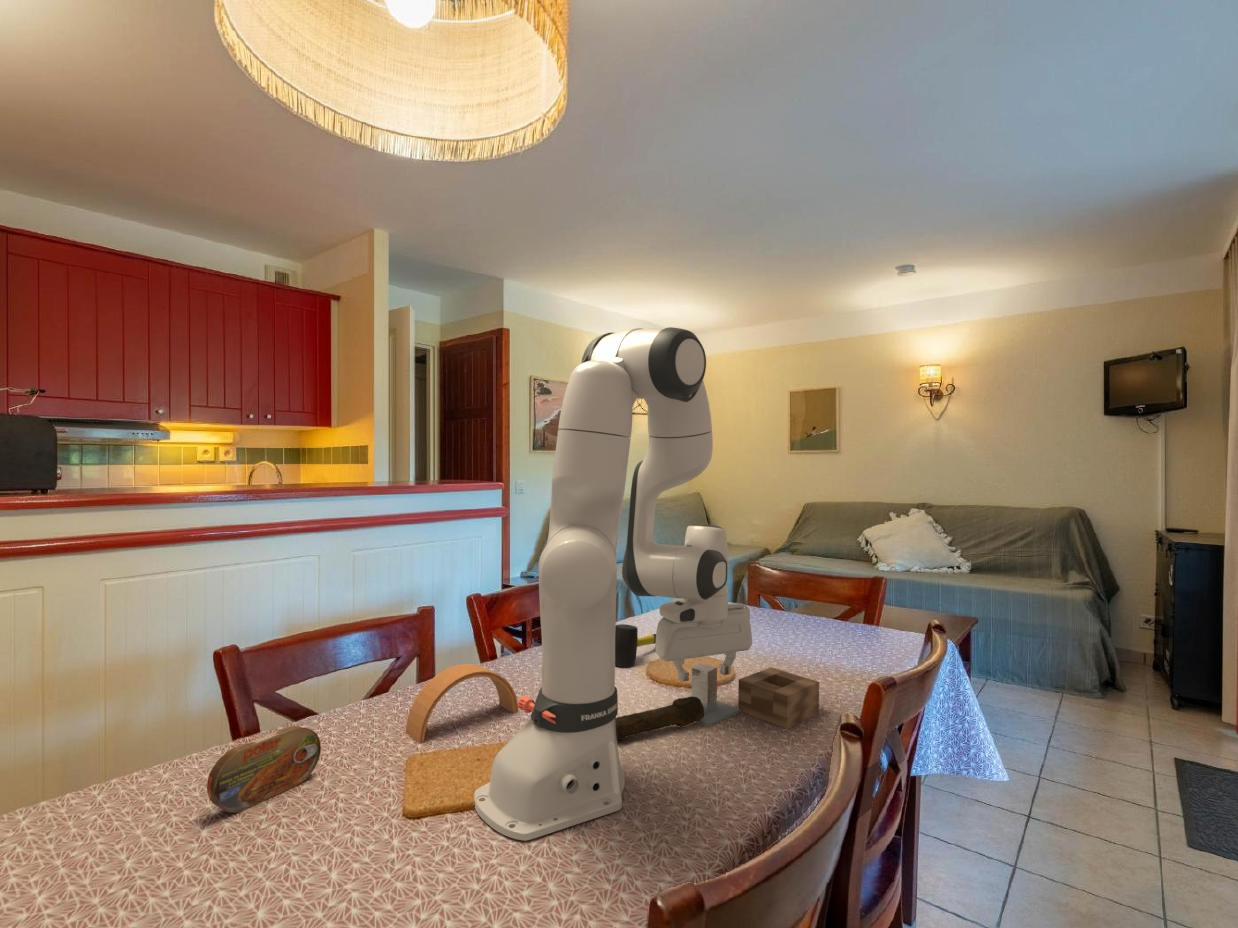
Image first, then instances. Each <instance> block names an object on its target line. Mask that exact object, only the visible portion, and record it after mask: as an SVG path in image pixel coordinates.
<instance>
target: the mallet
mask: <svg viewBox="0 0 1238 928" xmlns="http://www.w3.org/2000/svg"><path fill="white" fill-rule="evenodd" d="M638 630H639V629H638V627H637V626H635V625H633V624H632V625H631V624H623V623H622V624H616V630H615V666H619V667H625V668H626V667H627V668H629V667H633V666H635V663H636V658H637V651H638V647H642V646H648V645H655V643H656V633H654V634H653V633H652V634H650V635H647V636H642V637H639V638H638Z"/></svg>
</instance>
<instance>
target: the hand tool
mask: <svg viewBox="0 0 1238 928" xmlns="http://www.w3.org/2000/svg"><path fill="white" fill-rule="evenodd" d="M703 717H704V707H703V705H702V703H701V700H700V699H699V698H697V697H694V696H692V697H691V696H687V697H682V698H676V699H674V700H673V702H672V703H671V704H669V705H666V706H663V707H658V708H653V709H649V710H645V711H641V712H634V713H631V714H627V715H622V716H616V717H615V723H616V737H617V742H618V741H619V740H624V741H625V740H626V739H627V737H632V736H635V735H638V734H639V735H640V734H643V733H647V732H652V731H656V730H660V729H663V728H667V727H670V726H676V727H679V728H684V727H687V726H690V725H692V724H694V723H697V722H696V721H698V720H700V719H702V718H703Z"/></svg>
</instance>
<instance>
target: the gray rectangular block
mask: <svg viewBox="0 0 1238 928" xmlns="http://www.w3.org/2000/svg"><path fill="white" fill-rule="evenodd" d="M692 696H694V697H697V698H699V699H700V700H701V703H702V705H703V707H704V713H706V714H708V713H710V712H711V711H713V710H714V709H716V708H717V701H718V667H717V666H713V665H709V664H705V663H699V664H697V665H695V666H693V667H691V695H690V697H692Z"/></svg>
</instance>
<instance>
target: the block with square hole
mask: <svg viewBox="0 0 1238 928" xmlns="http://www.w3.org/2000/svg"><path fill="white" fill-rule="evenodd" d="M737 691H738V693H737V694H738V696H737V697H738V701H737V702H738V705H737V708H738V709H741V712H743V713H746V714H748V715H750V716H753V717H756V718H758V719H760V720H763V721H765V722H769V723H771V724H774V725H776V726H779V727H780V728H784V729H785V730H787V729H789V728H792V727H793V726H796V725H798V724H799V723H802V722H803V721H806V720H807V719H810V718H811V717H813V716H815V715H817V714H819V713H820V681H817V680H814V679H811V678H807V677H805V676H801V675H797V674H796V673H795V674H794V673H792V672H789V671H785V670H781V669H779V668H776V667H773V666H770V667H768V668H765V669H763V670H759V671H757V672H754V673H752V674H749V675H747V676H744V677H741V678H739V679H738V690H737Z"/></svg>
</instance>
